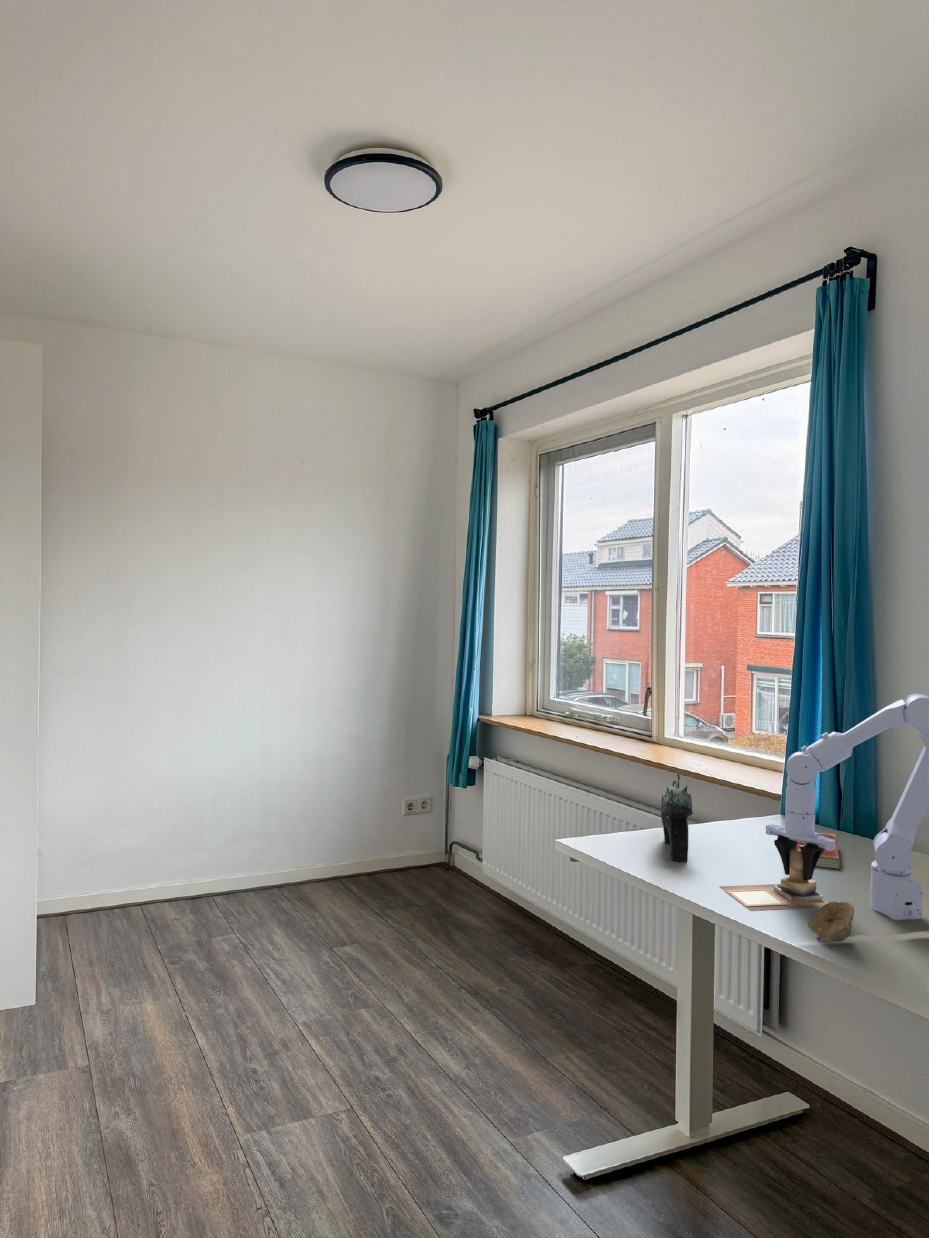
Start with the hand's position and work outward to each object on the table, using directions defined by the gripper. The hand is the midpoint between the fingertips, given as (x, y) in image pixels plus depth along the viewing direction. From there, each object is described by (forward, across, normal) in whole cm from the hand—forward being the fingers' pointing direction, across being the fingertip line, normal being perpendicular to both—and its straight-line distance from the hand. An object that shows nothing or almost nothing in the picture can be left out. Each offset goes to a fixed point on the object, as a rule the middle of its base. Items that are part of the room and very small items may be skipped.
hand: (798, 876), depth 177 cm
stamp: (+3, 0, 0) cm, 3 cm away
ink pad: (+4, 0, 0) cm, 4 cm away
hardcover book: (+6, +15, -30) cm, 34 cm away
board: (+5, +2, +4) cm, 7 cm away
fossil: (+5, -15, +13) cm, 20 cm away
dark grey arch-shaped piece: (+5, +37, -6) cm, 37 cm away
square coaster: (+4, +4, +9) cm, 10 cm away
